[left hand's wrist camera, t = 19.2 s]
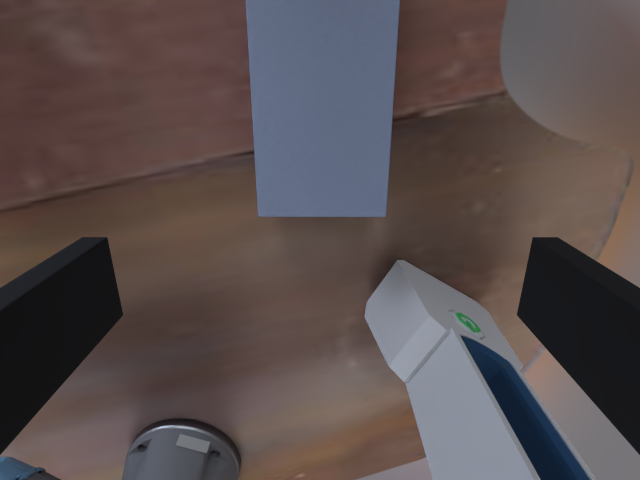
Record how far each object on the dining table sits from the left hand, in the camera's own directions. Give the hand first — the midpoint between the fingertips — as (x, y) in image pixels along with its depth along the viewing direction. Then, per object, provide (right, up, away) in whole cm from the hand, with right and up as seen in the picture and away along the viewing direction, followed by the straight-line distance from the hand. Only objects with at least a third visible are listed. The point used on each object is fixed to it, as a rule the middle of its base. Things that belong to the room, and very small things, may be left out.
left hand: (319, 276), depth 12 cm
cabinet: (0, +17, +25) cm, 30 cm away
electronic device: (+12, -6, +34) cm, 36 cm away
